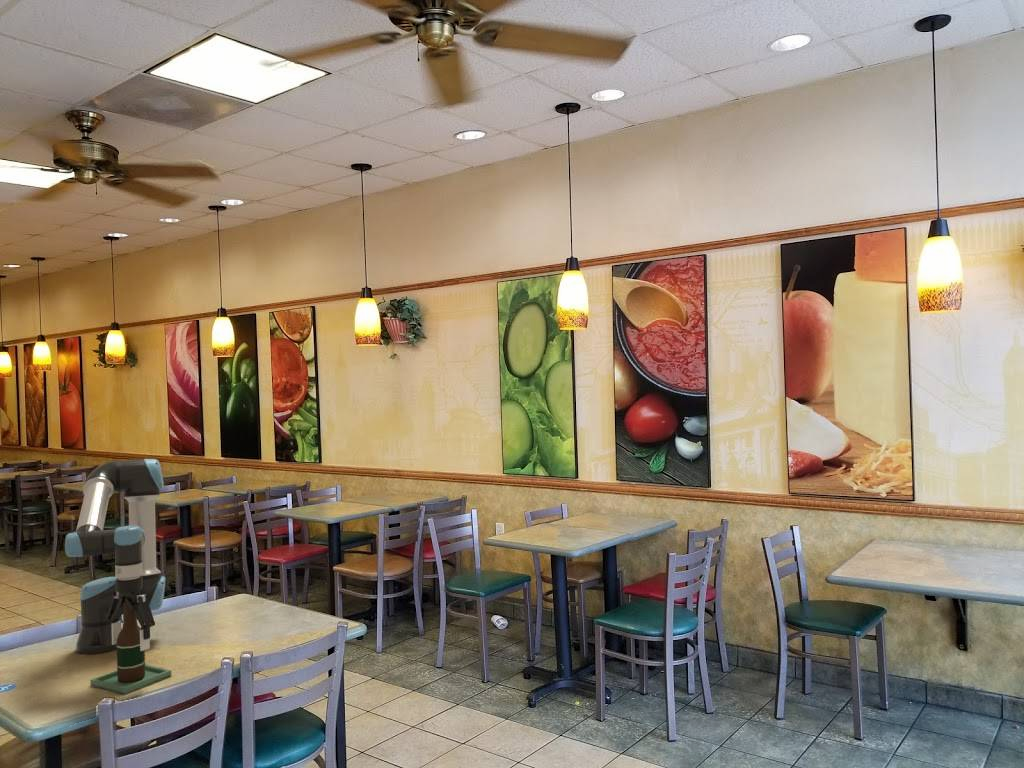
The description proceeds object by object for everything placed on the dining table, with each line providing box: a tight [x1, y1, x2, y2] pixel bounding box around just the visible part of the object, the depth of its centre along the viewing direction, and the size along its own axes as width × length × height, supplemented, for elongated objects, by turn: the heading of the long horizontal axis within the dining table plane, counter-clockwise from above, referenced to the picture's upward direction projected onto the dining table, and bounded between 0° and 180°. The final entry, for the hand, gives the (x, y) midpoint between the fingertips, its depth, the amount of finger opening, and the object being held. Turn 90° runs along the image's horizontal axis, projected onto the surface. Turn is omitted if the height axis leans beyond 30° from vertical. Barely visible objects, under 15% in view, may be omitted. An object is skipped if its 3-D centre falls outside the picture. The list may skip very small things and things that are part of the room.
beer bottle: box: [116, 601, 146, 683], centre depth 239 cm, size 8×8×24 cm
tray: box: [90, 663, 172, 695], centre depth 238 cm, size 16×16×2 cm
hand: (130, 646), depth 238 cm, fingers open, 13 cm apart
